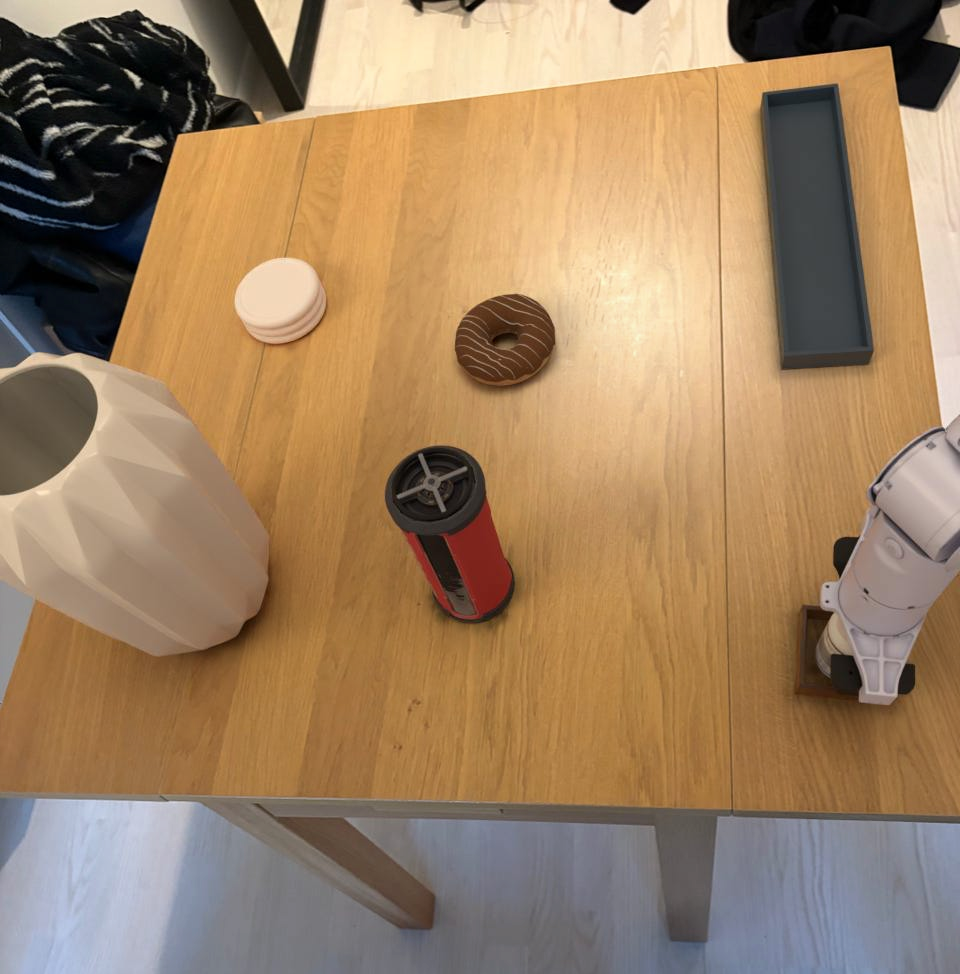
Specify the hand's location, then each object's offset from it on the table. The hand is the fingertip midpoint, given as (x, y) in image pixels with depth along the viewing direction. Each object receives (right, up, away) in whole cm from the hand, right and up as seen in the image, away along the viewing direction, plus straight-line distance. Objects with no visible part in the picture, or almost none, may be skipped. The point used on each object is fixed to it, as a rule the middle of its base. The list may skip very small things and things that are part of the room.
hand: (850, 646), depth 66 cm
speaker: (-30, +5, +11) cm, 33 cm away
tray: (+5, +44, +20) cm, 49 cm away
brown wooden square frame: (0, -1, +2) cm, 3 cm away
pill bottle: (+1, -1, +3) cm, 3 cm away
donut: (-27, +31, +21) cm, 46 cm away
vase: (-57, +5, +16) cm, 59 cm away
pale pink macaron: (-52, +38, +29) cm, 71 cm away
